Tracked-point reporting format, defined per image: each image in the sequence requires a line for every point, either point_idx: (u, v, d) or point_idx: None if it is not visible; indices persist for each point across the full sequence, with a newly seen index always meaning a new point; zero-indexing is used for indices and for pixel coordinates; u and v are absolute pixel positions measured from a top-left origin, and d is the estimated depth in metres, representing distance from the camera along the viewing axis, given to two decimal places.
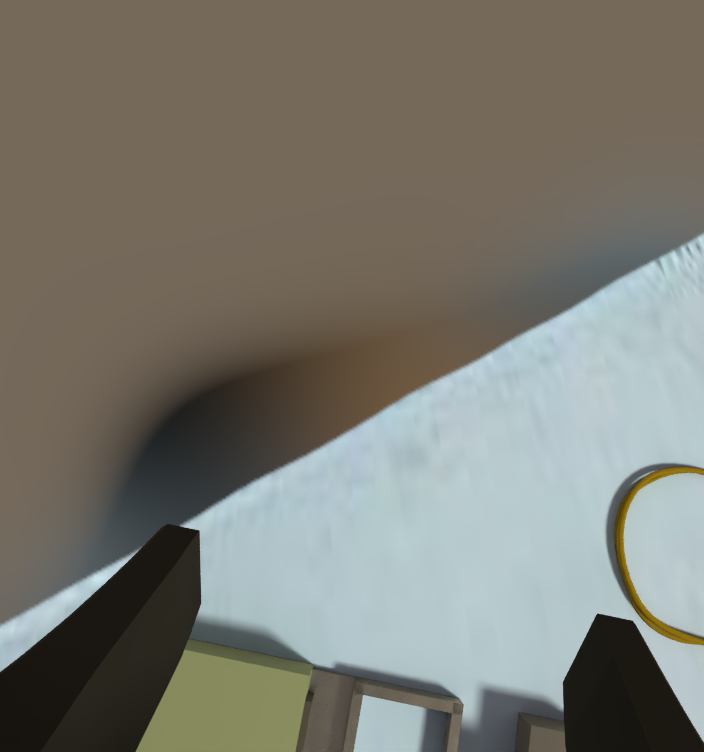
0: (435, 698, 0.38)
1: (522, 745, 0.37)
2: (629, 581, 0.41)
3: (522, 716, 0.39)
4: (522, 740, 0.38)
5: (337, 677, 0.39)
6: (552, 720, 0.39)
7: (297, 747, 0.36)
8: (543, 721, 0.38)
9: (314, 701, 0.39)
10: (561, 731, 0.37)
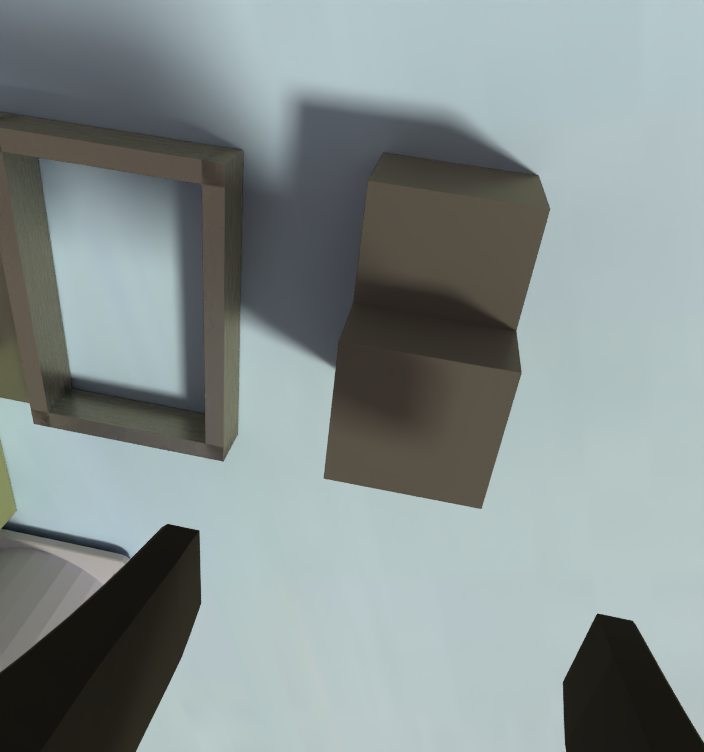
0: (161, 152, 0.16)
1: None
2: None
3: (380, 160, 0.16)
4: None
5: None
6: (459, 166, 0.16)
7: None
8: (427, 170, 0.15)
9: None
10: (447, 192, 0.14)
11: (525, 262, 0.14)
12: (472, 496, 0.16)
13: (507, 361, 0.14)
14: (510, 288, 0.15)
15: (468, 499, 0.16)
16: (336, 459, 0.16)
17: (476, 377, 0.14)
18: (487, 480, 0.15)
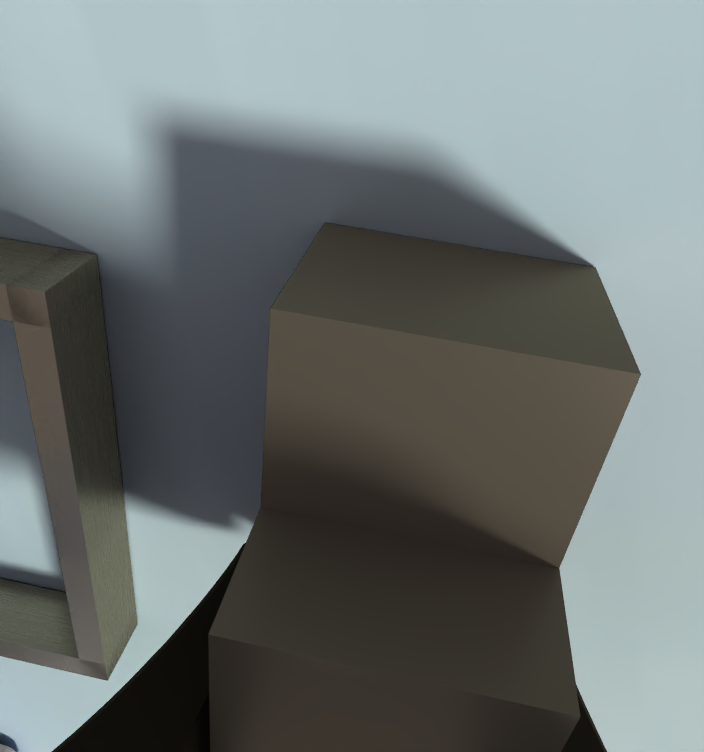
0: None
1: None
2: None
3: (313, 246, 0.09)
4: None
5: None
6: (455, 256, 0.09)
7: None
8: (395, 267, 0.08)
9: None
10: (430, 333, 0.07)
11: (583, 464, 0.07)
12: None
13: (549, 675, 0.07)
14: (550, 505, 0.08)
15: None
16: None
17: (487, 713, 0.07)
18: None
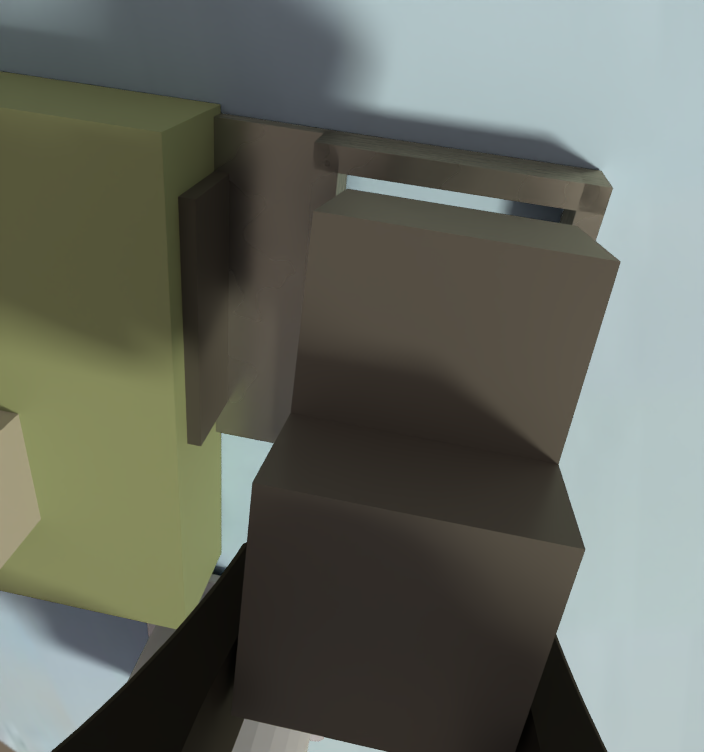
0: (534, 175, 0.14)
1: None
2: None
3: None
4: None
5: (279, 133, 0.15)
6: (459, 210, 0.11)
7: (183, 297, 0.15)
8: (411, 209, 0.10)
9: (232, 191, 0.16)
10: (446, 232, 0.08)
11: (576, 352, 0.09)
12: None
13: (555, 524, 0.08)
14: (549, 396, 0.09)
15: None
16: (252, 685, 0.09)
17: (501, 554, 0.08)
18: (517, 732, 0.09)
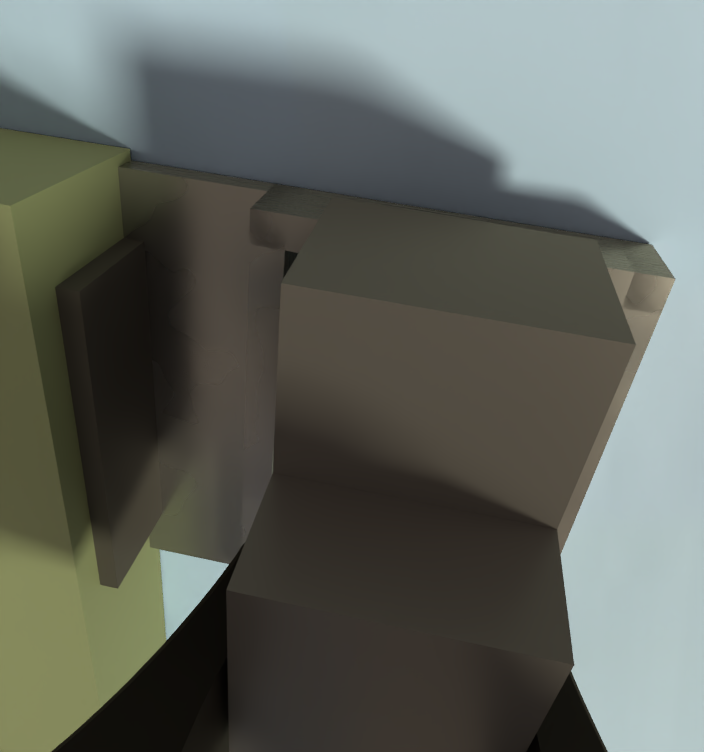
0: None
1: None
2: None
3: (321, 221, 0.09)
4: None
5: (207, 189, 0.11)
6: (459, 229, 0.09)
7: (76, 415, 0.11)
8: (401, 241, 0.09)
9: (150, 264, 0.12)
10: (434, 305, 0.07)
11: (580, 430, 0.08)
12: None
13: (545, 627, 0.07)
14: (549, 468, 0.08)
15: None
16: (246, 734, 0.09)
17: (485, 663, 0.07)
18: None
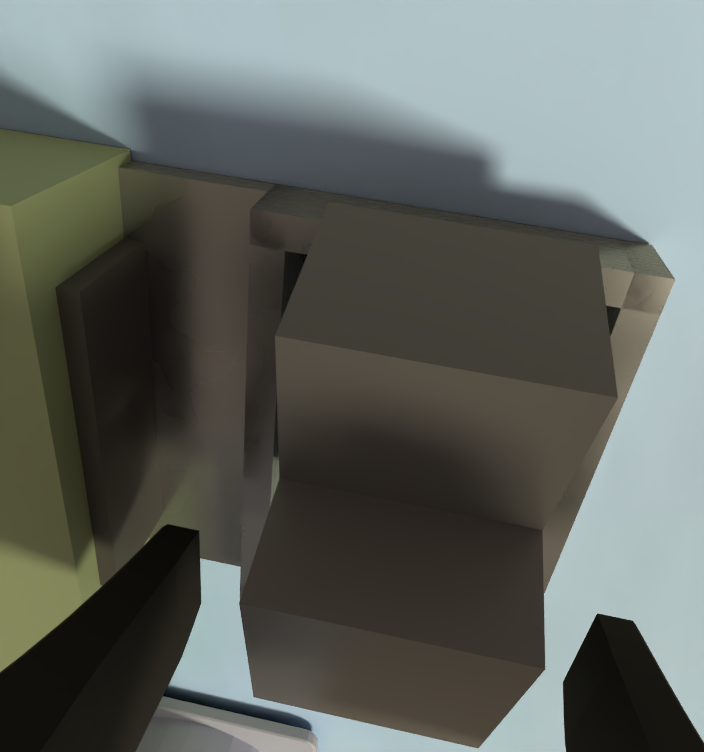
0: None
1: None
2: None
3: (316, 238, 0.09)
4: None
5: (208, 190, 0.11)
6: (457, 241, 0.09)
7: (76, 415, 0.11)
8: (396, 264, 0.09)
9: (150, 265, 0.12)
10: (424, 356, 0.07)
11: (564, 460, 0.08)
12: (465, 739, 0.11)
13: (522, 633, 0.08)
14: (534, 486, 0.09)
15: (459, 740, 0.11)
16: (266, 688, 0.11)
17: (468, 662, 0.08)
18: (487, 733, 0.10)
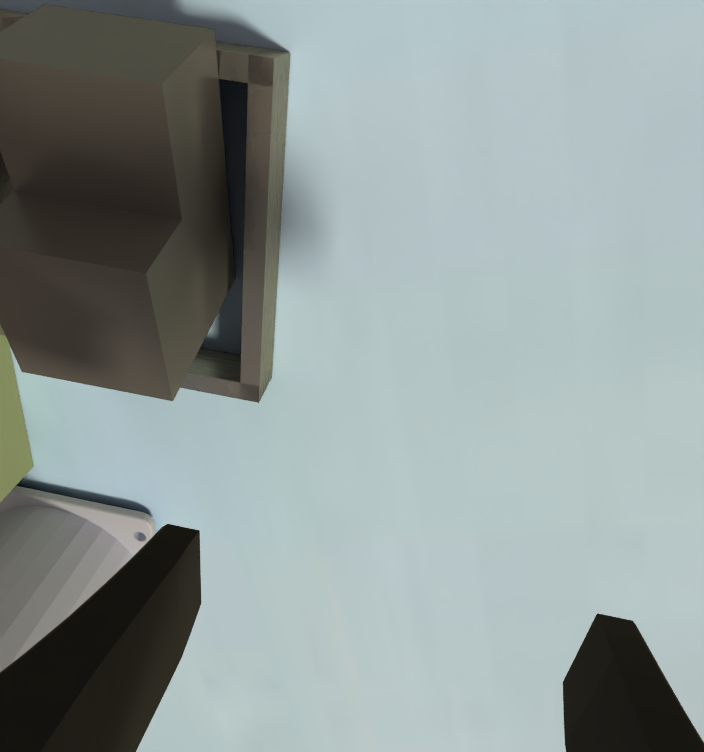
0: None
1: None
2: None
3: (24, 19, 0.14)
4: None
5: None
6: (118, 23, 0.14)
7: None
8: (68, 31, 0.14)
9: None
10: (54, 65, 0.12)
11: (161, 145, 0.13)
12: (160, 390, 0.16)
13: (140, 259, 0.13)
14: (158, 174, 0.14)
15: (157, 392, 0.16)
16: (23, 354, 0.16)
17: (106, 277, 0.13)
18: (165, 375, 0.15)
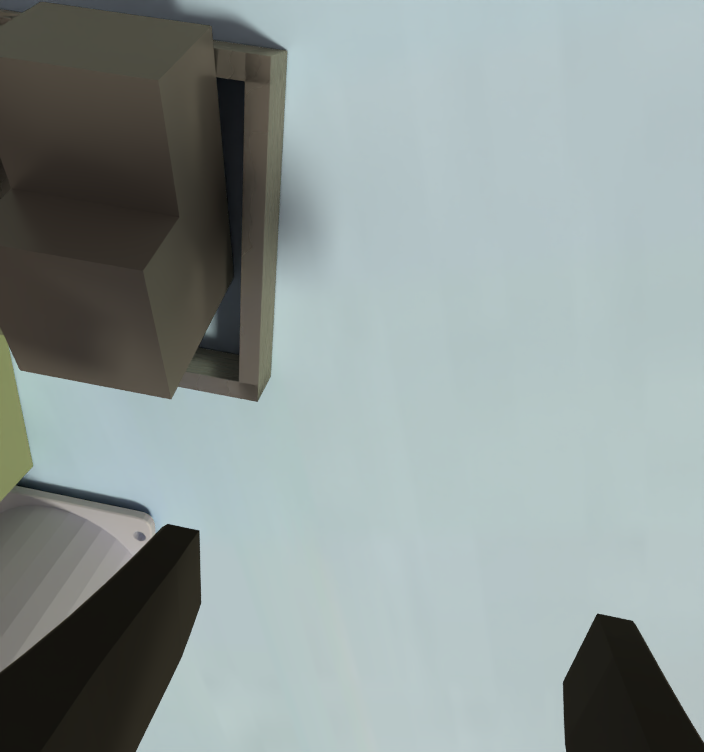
0: None
1: None
2: None
3: (20, 16, 0.14)
4: None
5: None
6: (115, 20, 0.14)
7: None
8: (64, 28, 0.13)
9: None
10: (50, 62, 0.12)
11: (158, 142, 0.13)
12: (158, 388, 0.16)
13: (138, 257, 0.13)
14: (154, 172, 0.14)
15: (155, 390, 0.16)
16: (21, 353, 0.16)
17: (104, 275, 0.13)
18: (163, 373, 0.15)
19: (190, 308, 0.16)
